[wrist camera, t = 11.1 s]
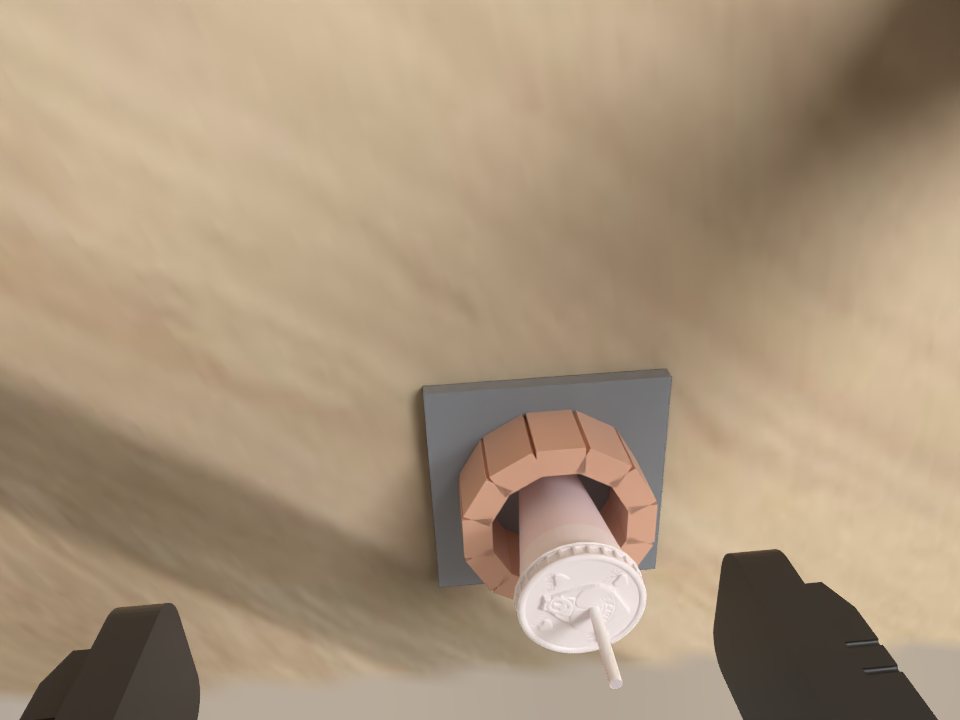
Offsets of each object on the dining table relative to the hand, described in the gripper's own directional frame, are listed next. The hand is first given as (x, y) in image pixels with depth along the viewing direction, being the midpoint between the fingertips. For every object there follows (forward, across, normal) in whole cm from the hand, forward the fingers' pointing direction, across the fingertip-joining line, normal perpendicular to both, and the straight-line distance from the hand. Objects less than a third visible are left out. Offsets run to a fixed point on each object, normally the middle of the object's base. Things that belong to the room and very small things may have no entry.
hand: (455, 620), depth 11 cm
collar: (+28, -6, +18) cm, 34 cm away
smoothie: (+27, -6, +18) cm, 33 cm away
